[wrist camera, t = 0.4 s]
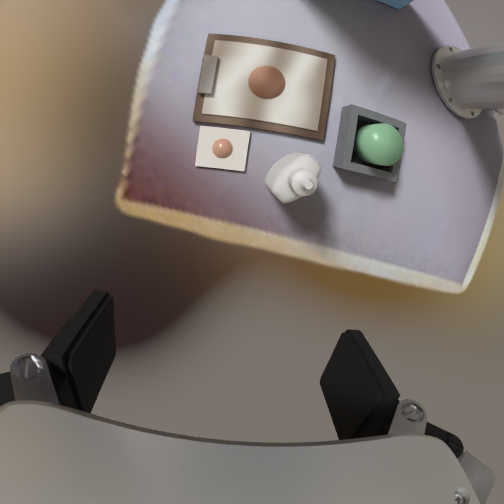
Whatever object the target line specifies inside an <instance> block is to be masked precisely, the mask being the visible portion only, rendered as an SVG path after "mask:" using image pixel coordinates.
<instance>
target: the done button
mask: <svg viewBox="0 0 504 504" xmlns="http://www.w3.org/2000/svg"><path fill="white" fill-rule="evenodd" d="M353 147H354V150H355V153H356V154H357V156H358V157H359V158H360V159H361V160H363V161H364V162H367V163H372V164H377V165H383V166H390V165H393V164H395V163H396V162H397V161H398V160H399V159H400V157H401V155H402V152H403V141H402V138H401V135H400V134H399V132H398V131H397V130H396V129H395V128H394V127H393V126H391V125H389V124H385V123H381V124H371V125H364V126H362V127H360V128H359V129H358V130H357V131H356V133H355V139H354V146H353Z"/></svg>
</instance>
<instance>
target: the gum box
mask: <svg viewBox="0 0 504 504" xmlns="http://www.w3.org/2000/svg"><path fill="white" fill-rule="evenodd" d="M377 1H380V2H382V3H385V4H387V5H389V6H392V7H394V8H396V9H398V10H400V9H401V8H403V7H404V6H406V5H407V4H409V3H410V2H412V1H413V0H377Z"/></svg>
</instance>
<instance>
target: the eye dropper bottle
mask: <svg viewBox="0 0 504 504" xmlns="http://www.w3.org/2000/svg"><path fill="white" fill-rule="evenodd" d="M320 172H321V166H320V164H319V163H318V162H317V161H316V160H315V159H314V158H313V157H312V156H311V155H309V154H304V153H291V154H288V155H286V156H284V157H283V158H281V159H280V160H278V161H277V162H276V163H275V164H274V165H273V166H272V168H271V169H270V170H269V172H268V174H267V176H266V178H265V185H266V186H267V187H268V189H269V190H270V191H271V192H272V193H273V194H274V195H275V196H276V197H277V198H278V199H279V200H280V201H281V202H283V203H290V202H292V201H295V200H297V199H299V198H301V197H302V196H309V195H311V194H312V193H314V192H315V190H316V188H317V184H318V181H317V179H318V177H319V175H320Z"/></svg>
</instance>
